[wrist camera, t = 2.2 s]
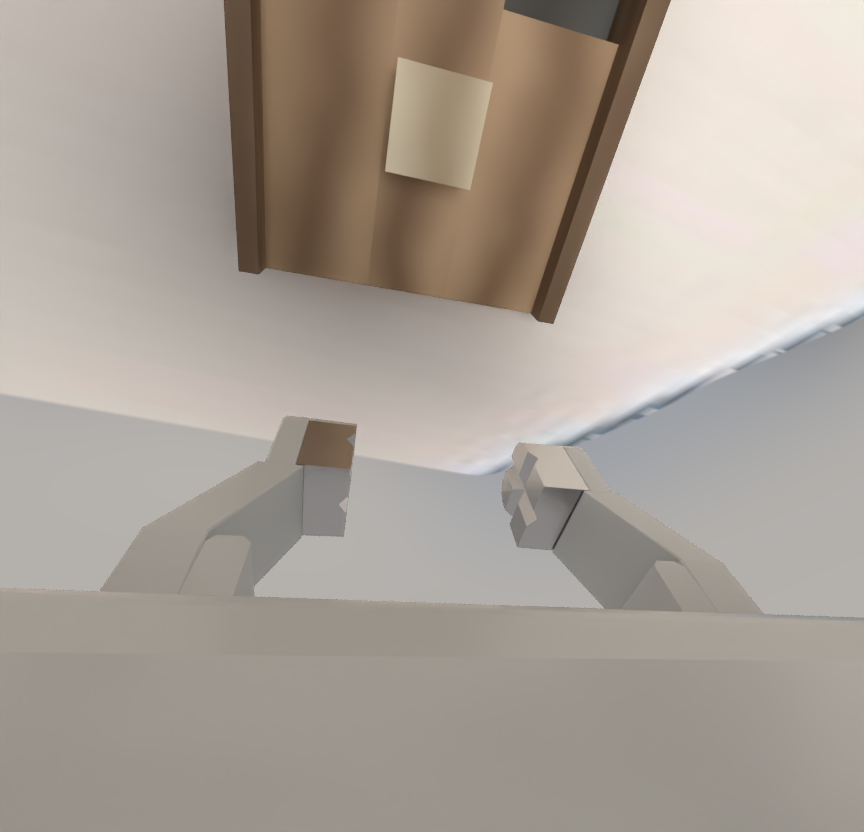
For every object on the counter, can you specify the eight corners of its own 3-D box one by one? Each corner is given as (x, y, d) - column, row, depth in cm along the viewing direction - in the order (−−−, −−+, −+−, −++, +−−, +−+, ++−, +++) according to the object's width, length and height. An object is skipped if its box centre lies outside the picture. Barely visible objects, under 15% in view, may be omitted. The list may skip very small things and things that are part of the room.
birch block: (385, 169, 21) (384, 171, 18) (397, 70, 19) (398, 56, 16) (460, 186, 22) (469, 190, 19) (479, 92, 19) (492, 82, 17)
